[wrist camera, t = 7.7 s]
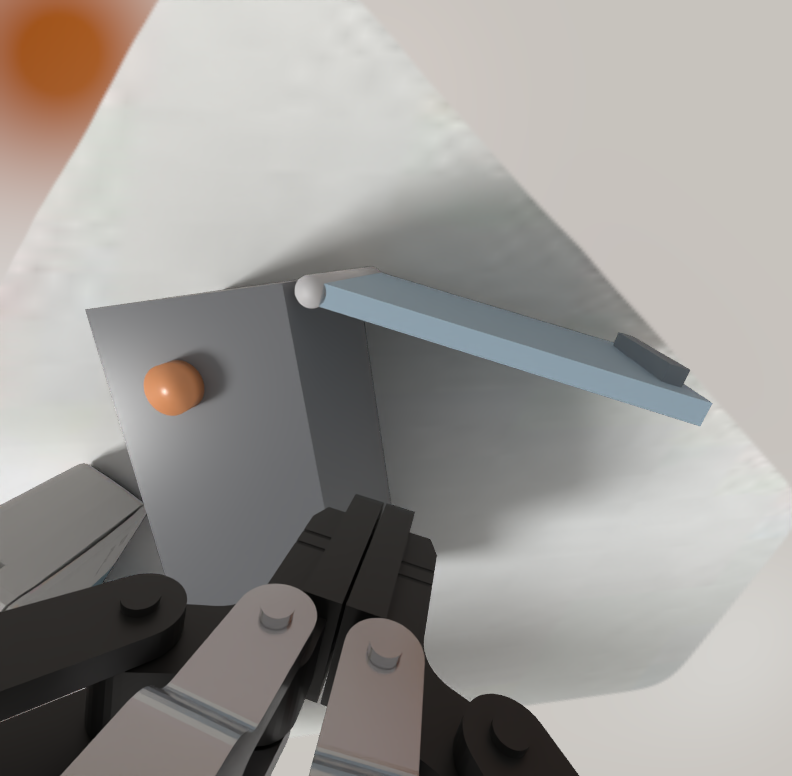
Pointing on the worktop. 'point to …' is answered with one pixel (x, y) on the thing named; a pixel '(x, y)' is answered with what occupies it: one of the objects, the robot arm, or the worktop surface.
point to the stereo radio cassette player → (63, 535)
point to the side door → (510, 339)
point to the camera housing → (240, 426)
